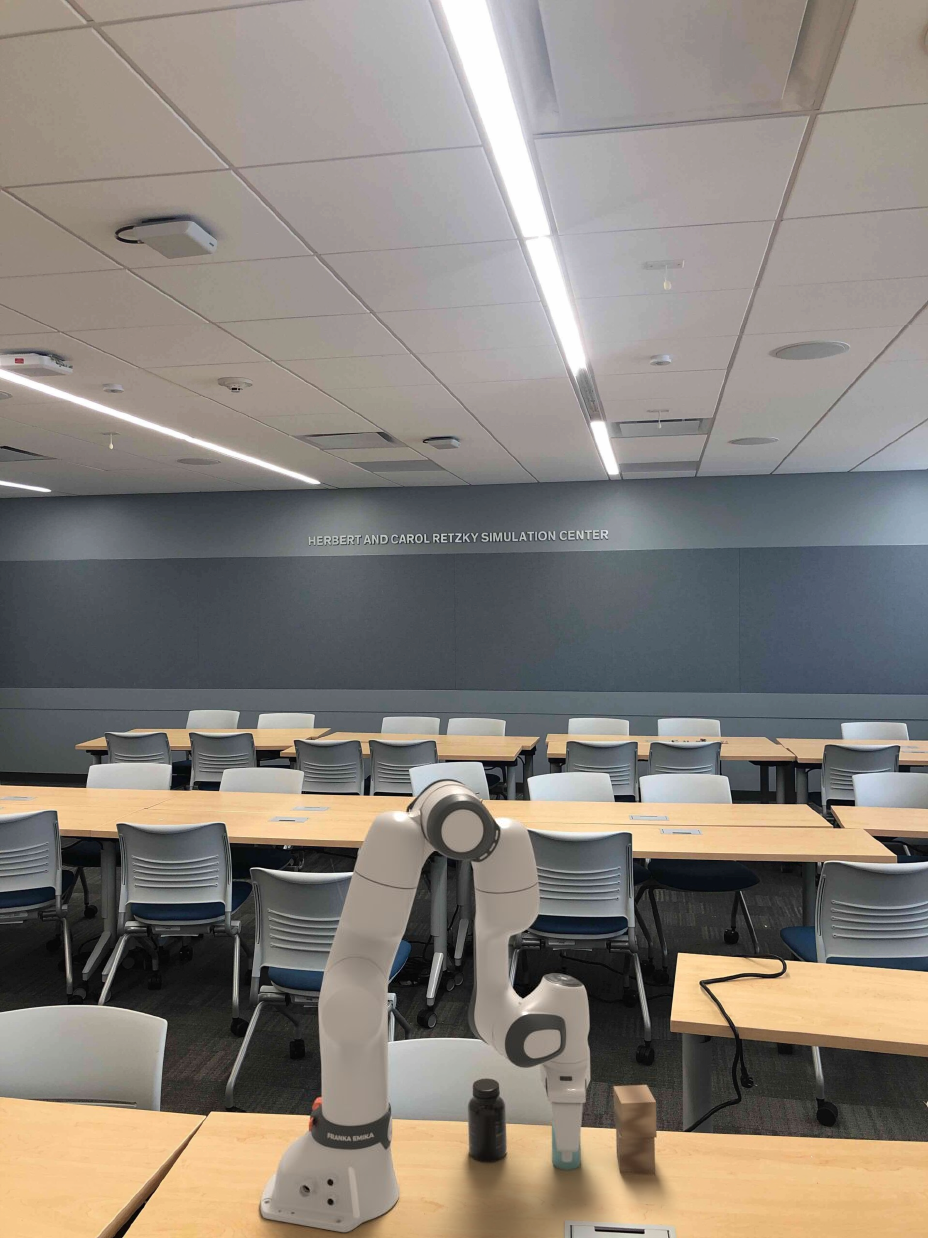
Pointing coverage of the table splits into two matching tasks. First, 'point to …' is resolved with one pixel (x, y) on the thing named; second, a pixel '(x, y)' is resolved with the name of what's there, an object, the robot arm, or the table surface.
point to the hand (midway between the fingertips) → (566, 1149)
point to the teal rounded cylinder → (558, 1156)
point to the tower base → (635, 1155)
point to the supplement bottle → (487, 1122)
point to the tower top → (634, 1112)
